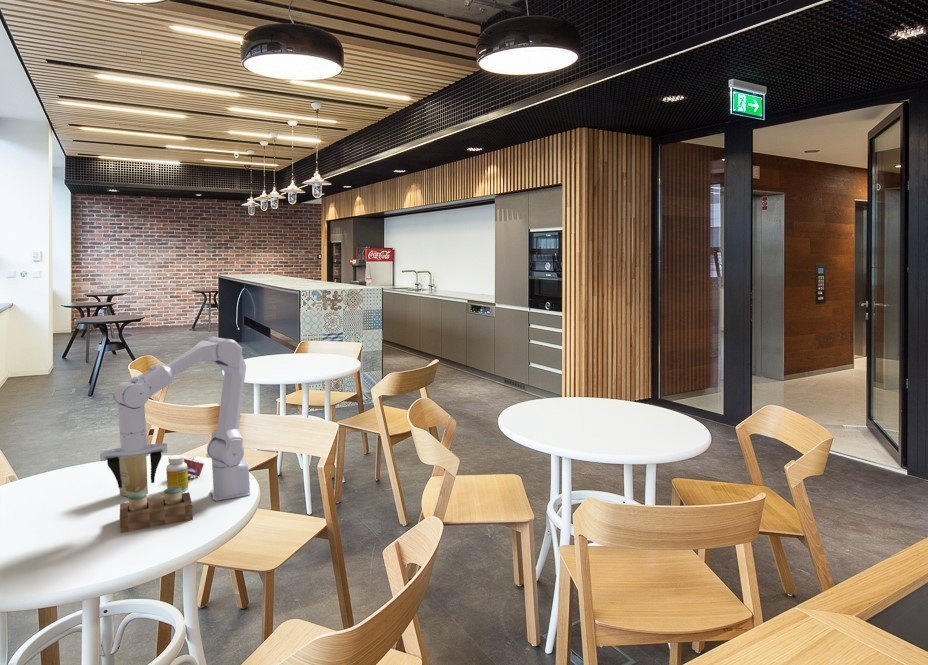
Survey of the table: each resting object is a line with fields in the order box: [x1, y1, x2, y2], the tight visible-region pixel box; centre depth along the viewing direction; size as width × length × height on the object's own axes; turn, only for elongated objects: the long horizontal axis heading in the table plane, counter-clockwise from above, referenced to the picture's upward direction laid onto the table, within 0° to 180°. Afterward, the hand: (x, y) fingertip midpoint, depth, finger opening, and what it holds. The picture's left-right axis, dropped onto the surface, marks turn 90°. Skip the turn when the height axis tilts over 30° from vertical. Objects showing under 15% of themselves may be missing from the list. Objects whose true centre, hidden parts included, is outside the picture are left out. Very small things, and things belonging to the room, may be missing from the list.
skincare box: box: [119, 454, 149, 498], centre depth 171 cm, size 6×4×12 cm
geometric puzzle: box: [184, 456, 205, 478], centre depth 185 cm, size 7×7×8 cm
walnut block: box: [119, 491, 194, 533], centre depth 156 cm, size 16×9×4 cm, turn 118°
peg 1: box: [127, 492, 148, 512], centre depth 153 cm, size 4×4×4 cm
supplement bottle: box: [165, 454, 189, 493], centre depth 175 cm, size 5×5×10 cm
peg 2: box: [163, 487, 183, 506], centre depth 157 cm, size 4×4×4 cm
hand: (136, 484), depth 153 cm, fingers open, 6 cm apart
